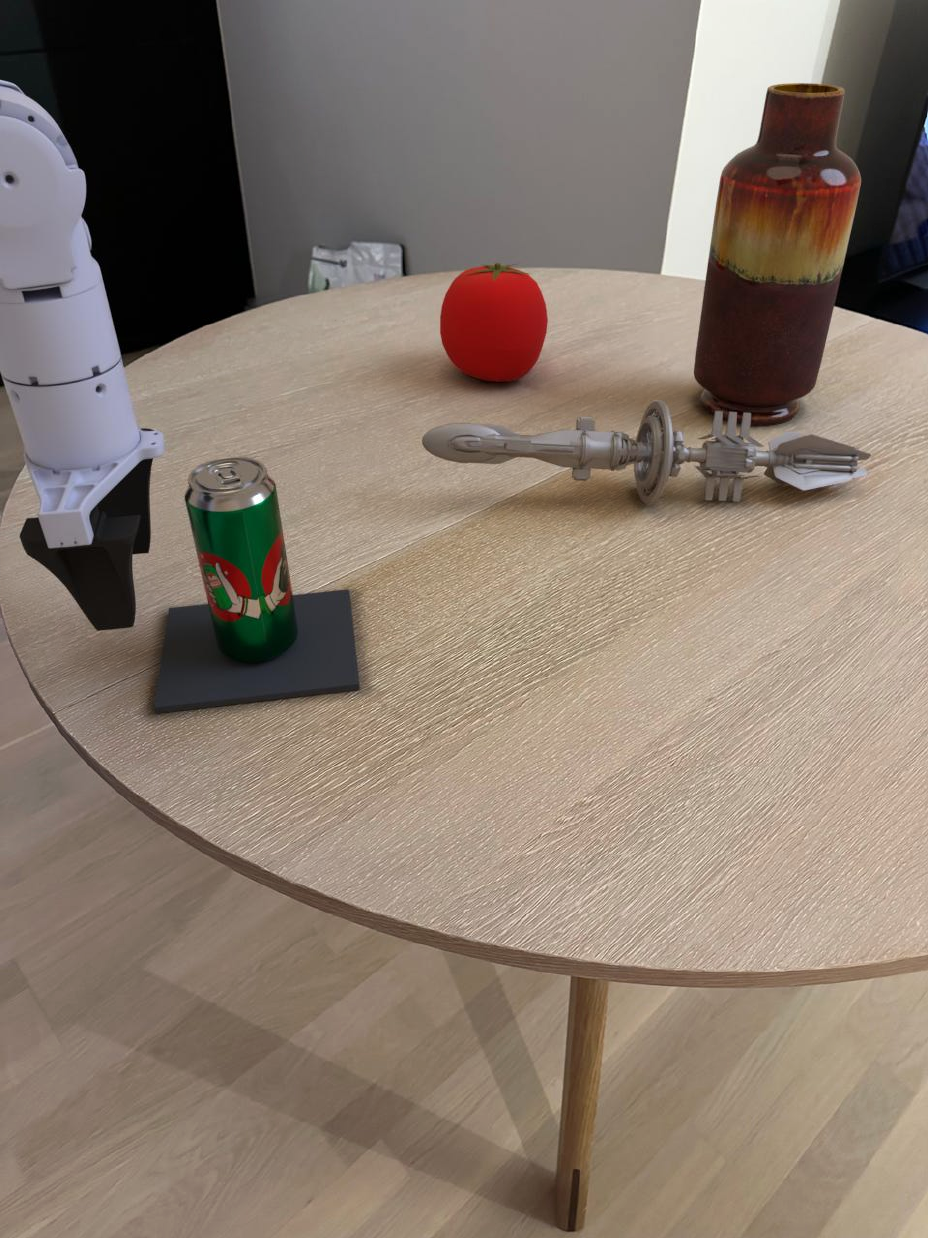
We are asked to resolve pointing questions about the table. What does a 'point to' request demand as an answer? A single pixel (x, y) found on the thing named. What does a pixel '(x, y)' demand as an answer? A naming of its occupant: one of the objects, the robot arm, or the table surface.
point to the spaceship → (658, 453)
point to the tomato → (493, 322)
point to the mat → (215, 679)
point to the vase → (776, 258)
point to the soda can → (242, 558)
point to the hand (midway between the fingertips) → (124, 586)
